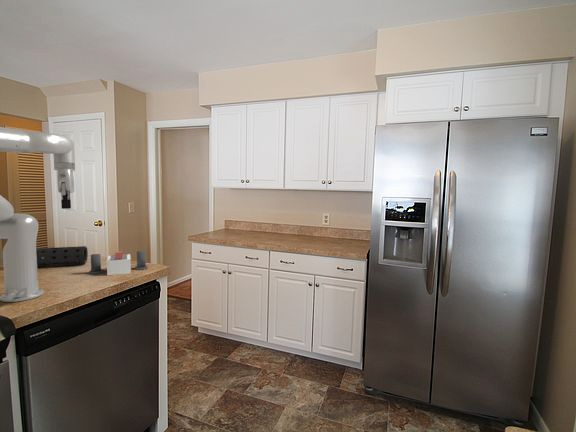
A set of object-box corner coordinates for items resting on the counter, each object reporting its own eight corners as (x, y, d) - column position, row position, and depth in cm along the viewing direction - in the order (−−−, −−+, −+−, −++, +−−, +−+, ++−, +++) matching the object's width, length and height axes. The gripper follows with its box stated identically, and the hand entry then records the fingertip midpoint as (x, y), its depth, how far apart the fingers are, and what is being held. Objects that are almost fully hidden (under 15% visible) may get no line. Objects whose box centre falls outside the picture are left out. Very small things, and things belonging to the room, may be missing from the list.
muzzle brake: (83, 266, 160) (83, 247, 159) (16, 271, 150) (15, 250, 149) (88, 262, 169) (87, 244, 168) (25, 266, 159) (24, 246, 158)
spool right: (148, 269, 158) (147, 252, 157) (135, 270, 155) (134, 253, 154) (147, 266, 163) (147, 250, 162) (134, 267, 160) (134, 251, 159)
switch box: (130, 273, 150) (130, 258, 150) (107, 275, 146) (106, 260, 145) (130, 267, 161) (130, 253, 160) (108, 269, 156) (108, 255, 156)
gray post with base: (102, 273, 148) (102, 255, 147) (88, 275, 145) (87, 256, 145) (103, 270, 154) (103, 253, 153) (89, 272, 151) (88, 254, 150)
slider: (122, 258, 148) (122, 252, 148) (115, 258, 147) (115, 252, 147) (122, 257, 150) (122, 251, 150) (115, 257, 149) (115, 251, 149)
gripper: (72, 166, 130) (74, 209, 132) (77, 168, 143) (78, 207, 145) (50, 165, 127) (52, 209, 128) (57, 167, 140) (59, 207, 141)
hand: (66, 208), depth 137 cm, fingers closed
